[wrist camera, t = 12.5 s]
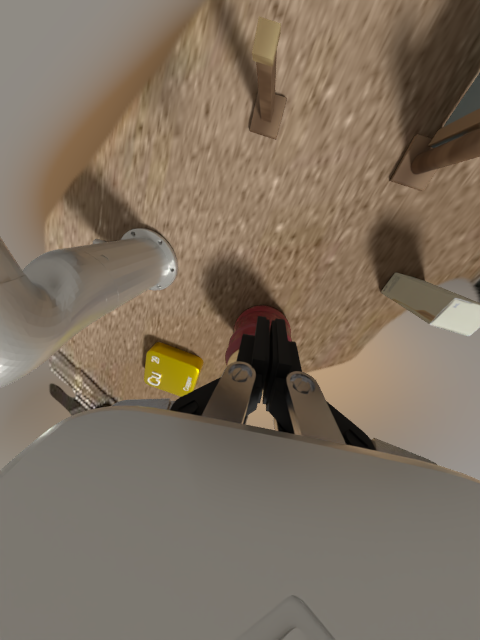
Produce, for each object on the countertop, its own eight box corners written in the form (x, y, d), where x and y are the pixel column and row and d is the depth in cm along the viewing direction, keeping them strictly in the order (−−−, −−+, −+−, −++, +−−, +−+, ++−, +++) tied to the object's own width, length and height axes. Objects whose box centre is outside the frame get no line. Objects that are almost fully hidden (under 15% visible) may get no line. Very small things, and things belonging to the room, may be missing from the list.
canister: (299, 315, 40) (318, 375, 25) (276, 355, 46) (279, 422, 31) (245, 295, 39) (229, 344, 24) (229, 339, 46) (209, 399, 31)
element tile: (194, 388, 59) (188, 401, 55) (151, 373, 58) (142, 385, 54) (205, 358, 51) (199, 370, 47) (155, 339, 50) (145, 350, 46)
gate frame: (449, 147, 24) (625, 77, 12) (420, 190, 27) (543, 168, 15) (259, 85, 24) (249, -47, 12) (249, 135, 27) (232, 68, 15)
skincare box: (379, 292, 35) (426, 324, 24) (394, 271, 33) (453, 296, 22) (410, 302, 35) (470, 338, 25) (427, 281, 33) (502, 311, 22)
